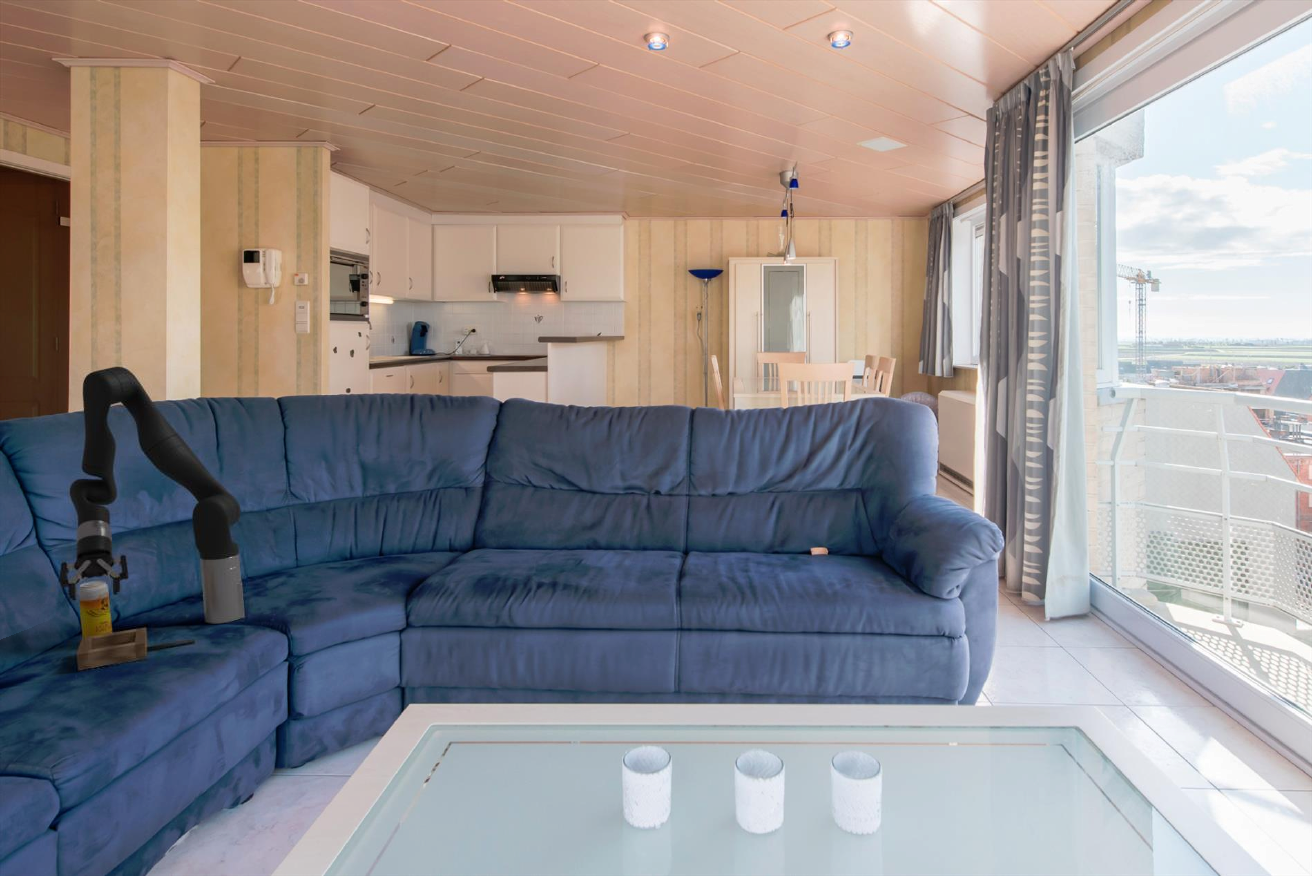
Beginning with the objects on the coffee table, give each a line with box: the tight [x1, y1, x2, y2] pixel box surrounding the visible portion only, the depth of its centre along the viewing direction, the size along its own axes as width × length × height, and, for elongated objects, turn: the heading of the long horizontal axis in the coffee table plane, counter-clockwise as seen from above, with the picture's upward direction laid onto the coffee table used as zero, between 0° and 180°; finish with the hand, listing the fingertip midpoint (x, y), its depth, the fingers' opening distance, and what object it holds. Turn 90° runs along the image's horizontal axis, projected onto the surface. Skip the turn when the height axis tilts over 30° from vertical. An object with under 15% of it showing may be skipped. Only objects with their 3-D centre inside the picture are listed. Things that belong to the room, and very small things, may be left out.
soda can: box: [77, 580, 113, 638], centre depth 201 cm, size 6×6×15 cm
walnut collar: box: [76, 627, 196, 671], centre depth 195 cm, size 23×13×4 cm, turn 121°
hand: (94, 596), depth 204 cm, fingers open, 8 cm apart
